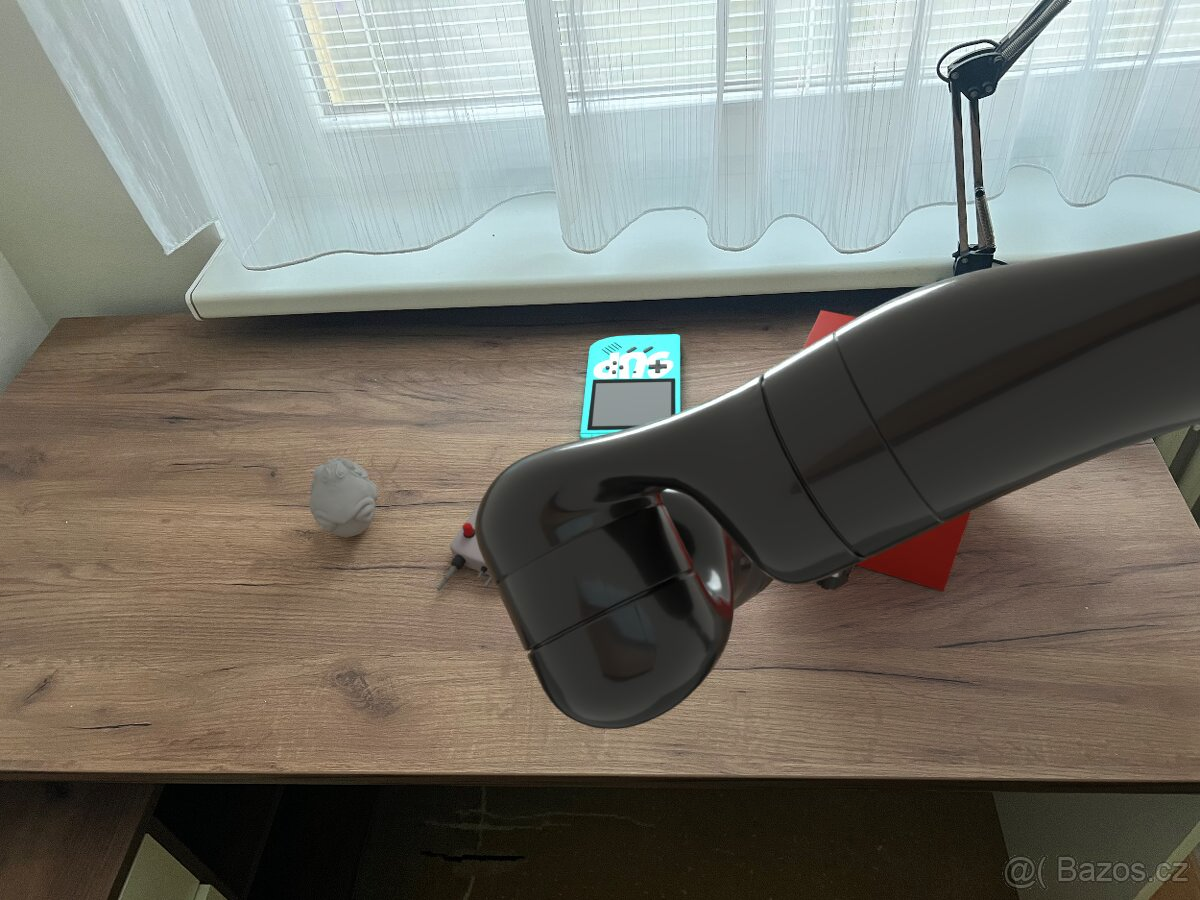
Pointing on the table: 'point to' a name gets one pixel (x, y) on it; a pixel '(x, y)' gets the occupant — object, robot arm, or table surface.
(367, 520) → the frog figurine
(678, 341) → the handheld game console
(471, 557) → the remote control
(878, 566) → the door
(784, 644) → the table surface
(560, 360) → the table surface
